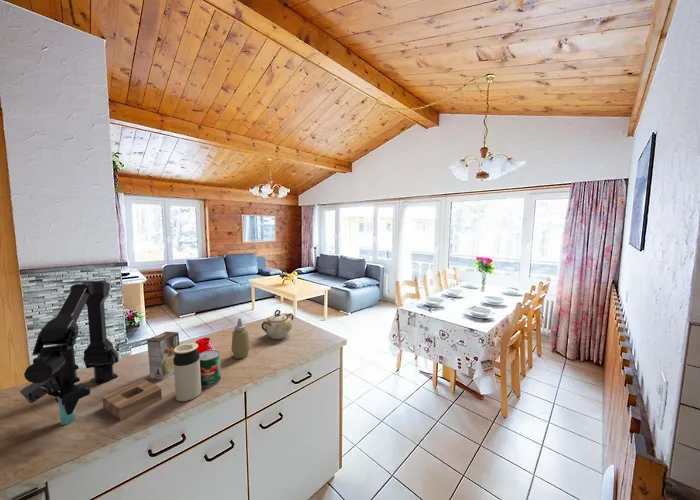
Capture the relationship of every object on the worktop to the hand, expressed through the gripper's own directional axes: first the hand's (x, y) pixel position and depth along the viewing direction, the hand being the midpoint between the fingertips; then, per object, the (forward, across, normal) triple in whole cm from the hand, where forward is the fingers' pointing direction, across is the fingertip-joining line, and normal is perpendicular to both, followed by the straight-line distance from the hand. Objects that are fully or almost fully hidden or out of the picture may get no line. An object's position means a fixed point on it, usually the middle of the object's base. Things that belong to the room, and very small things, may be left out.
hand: (67, 412), depth 86 cm
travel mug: (+3, +20, +26) cm, 33 cm away
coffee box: (+3, -2, +30) cm, 30 cm away
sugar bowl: (+3, +13, +80) cm, 81 cm away
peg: (+3, 0, 0) cm, 3 cm away
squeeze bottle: (+3, +13, +55) cm, 57 cm away
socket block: (+3, +8, +14) cm, 16 cm away
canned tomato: (+3, +19, +35) cm, 40 cm away
